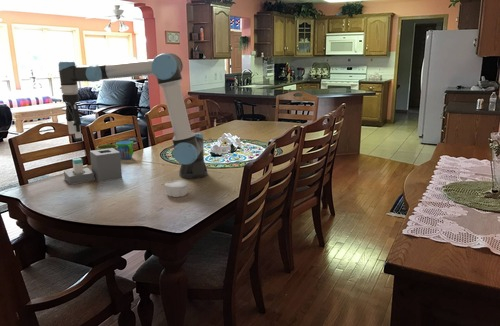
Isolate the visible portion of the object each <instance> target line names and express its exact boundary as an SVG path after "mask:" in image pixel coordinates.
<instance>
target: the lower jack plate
mask: <svg viewBox="0 0 500 326" xmlns="http://www.w3.org/2000/svg"><path fill="white" fill-rule="evenodd" d="M83 170H84V173H79V174H74V170H73V169H71V170H64V171H63V176H64V177H63V178H64V179H65V181H66V182H67V183H68V184H69V185H75V184H81V183H86V182H87V183H88V182H93V181H96V179H95V178H94V173H93V172H92V169H91V168H89V167H83Z"/></svg>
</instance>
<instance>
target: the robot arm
mask: <svg viewBox="0 0 500 326" xmlns="http://www.w3.org/2000/svg"><path fill="white" fill-rule="evenodd" d="M183 67H184V64H183V61H182V59H181V58H180V57H179V55H177V54H176V53H175V54H174V53H166V52H163V53H160V54H158V55H156V56H155V57H154V58H153V59H147V60H146V59H144V60H134V61H125V62H123V61H122V62H113V63H112V62H111V63H104V64H103V63H102V64H94V65H93V64H91V65H76V62H75V61H60V62H58V74H59V79H60V80H59V81H60V87H59V89H60V90H61V98H62V102H63V103H65V119H66V121H67V127H68V134H69V135H74V137H75V139H77V140H78V139H82V138H83V137H82V130H81V127H82V126H81V125H82V121H81V120H82V119H81V117H80V113H79V112H80V111H79V107H78V104H76V103H79V101H80V95H79V94H78V93H79V87H78V86H79V85H78V82H93V83H94V82H99V81H101V80H102V81H103V80H109V79H110V80H112V79H122V78H124V79H125V78H133V77H134V78H135V77H143V76H144V77H145V76H155V77H156V80H157V85H158V86H160V87H161V88H162V92H163V95H164V100H165V103H166V104H165V105H166V106H167V111H168V114H169V120H170V123H171V126H172V127H171V128H172V131H173V135H174V136H173V137H172V143H173V151H172V155H173V158H174V159H175V161H176V162H177V163H178V164H180V168H179V177H180V178H183V179H200V178H201V179H202V178H204V177H207V176H208V168H207V165H206V163H205V156H204V155H205V153H204V152H205V151H204V150H205V149H204V140H205V139H204V135H203V133H200V132H193V131H192V129H191V125H190V120H189V115H188V112H187V107H186V104H185V99H184V97H183V96H184V95H183V91H182V87H181V83H182V81H183V76H182V74H181V73H182V71H183Z"/></svg>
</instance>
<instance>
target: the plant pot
mask: <svg viewBox="0 0 500 326" xmlns="http://www.w3.org/2000/svg"><path fill="white" fill-rule="evenodd" d="M117 147H118V146H117V145H116V144H101V145H97V146H96V150H100V149H108V148H114V149H115V150H117ZM117 151H118V150H117Z"/></svg>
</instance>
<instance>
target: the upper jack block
mask: <svg viewBox="0 0 500 326" xmlns="http://www.w3.org/2000/svg"><path fill="white" fill-rule="evenodd" d="M89 156H90V157H89V158H90V166H91V168H90V169H91V171H92V172H93V173H94V179H95V181H97V182H98V183H99V182H106V181H112V180H117V179H118V180H119V179H122V178H123V173H122V161H121V160H122V159H120V152H119V151H118V150H115V149H114V148H108V149H100V150H98V149H95V150H89Z"/></svg>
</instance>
